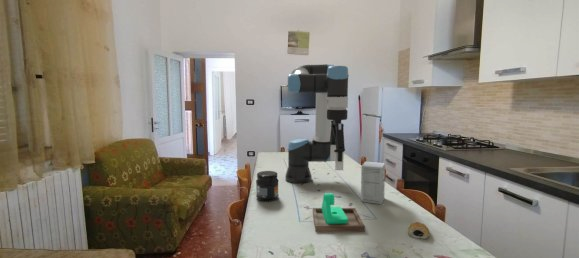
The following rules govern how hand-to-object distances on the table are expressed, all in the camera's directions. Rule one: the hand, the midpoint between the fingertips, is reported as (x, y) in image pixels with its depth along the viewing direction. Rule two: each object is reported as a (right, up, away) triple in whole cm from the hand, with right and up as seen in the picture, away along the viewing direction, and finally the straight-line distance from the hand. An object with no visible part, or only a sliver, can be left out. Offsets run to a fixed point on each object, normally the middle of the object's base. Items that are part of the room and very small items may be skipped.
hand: (336, 165), depth 107 cm
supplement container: (-28, -19, +27) cm, 44 cm away
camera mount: (-1, -21, +2) cm, 21 cm away
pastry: (+27, -23, -8) cm, 37 cm away
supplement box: (+21, -19, +24) cm, 37 cm away
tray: (0, -22, +2) cm, 22 cm away
